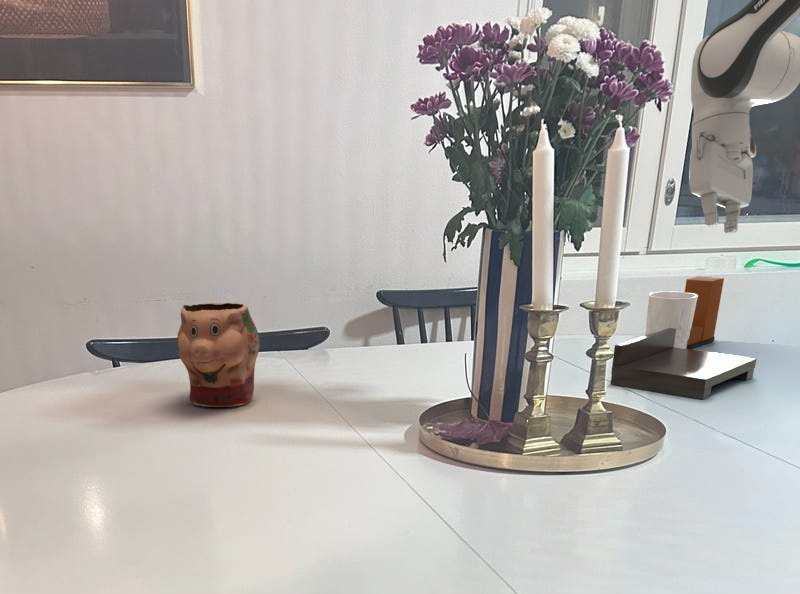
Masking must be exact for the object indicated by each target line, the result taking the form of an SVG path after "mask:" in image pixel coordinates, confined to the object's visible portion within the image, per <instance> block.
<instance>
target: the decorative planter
mask: <svg viewBox="0 0 800 594" xmlns="http://www.w3.org/2000/svg"><path fill="white" fill-rule="evenodd" d="M180 321H181V324H180V325H179V329H178V332H177V338H176V344H177V345H176V346H177V354H178V356H179V359H180V360H181V363H183V365H184V367H185V369H186V371H187V375H188V380H189V387H190V388H189V402H190V403H192V402H193V403H192V404H193V405H196V406H201V407H212V408H213V407H215V408H217V407H218V408H224V407H225V408H227V407H237V406H242V405H246V404H248V403H250V402H251V401H252V399H253V396H254V391H255V369H256V363H257V359H258V355H259V351H260V335H259V332H258V328H257V327H256V324H255V323H254V321H253V319H252V316H251V314H250V310H249V308H248V306H247V305H246V304H244V303H239V302H238V303H237V302H223V303H220V302H219V303H218V302H217V303H216V302H209V303H197V304H196V303H195V304H190V305H187V304H183V306H182V307H181V310H180Z"/></svg>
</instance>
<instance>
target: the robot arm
mask: <svg viewBox="0 0 800 594" xmlns="http://www.w3.org/2000/svg"><path fill="white" fill-rule="evenodd" d="M798 15H800V0H750V1H749V2H748V3H747V4H746V5H745V6H744V7H743V8H741V9H740V10H739V11H738V12H737V13H735V14H733V15H731V16H730V17H728V18H726V19H725V20H724V21H723V22H721V23H720V24H718V25H717V26H716V27H715V28H714V29H713V30H712V31H711V32H710V33H709V34H708V35H707V36H705V37H704V38H703V39H702V40H701V41H700V42H699V43H698V45H697V47H696V48H695V52H694V54H693V59H692V65H691V76H690V78H691V79H690V101H691V102H690V103H691V105H692V108H693V109H692V110H693V118H692V122H691V150H690V153H689V154H690V155H689V169H688V171H689V172H688V186H689V190H690V193H691V194H692V195H695V196H697V197H699V198H700V204H701V208H702V212H703V215H704V225H705V226H707V227H714V226H715V227H716V226H717V225H719V223H720V222H719V218H720V217H719V212H718V209H717V206H719V207H722V208H724V211H725V222H723V228H724V229H723V231H724V233H725V234H728V235H731V234H736V233H737V232H738V223H739V218H740V215H741V209H743V208H745V207H749V205H750V203H751V200H752V196H753V181H754V180H753V179H754V177H753V176H754V163H753V159H752V158H755V157H756V155H757V146H756V143H755V141H754V139H753V136H752V134H751V127H750V111H751V109H752V107H754V106H760V105H767V104H772V103H776V102H780V101H783V100H785V99H786V98H788V97H790V96H791V95H792V94H793V93H794V92H795V91H796V90H797V89H798V87H799V86H800V36H799V35H796V34H794V33H791V32H787V31H783V30H784V29H785V28H786V27H787V26H788V25H789V24H790V23H792V21H794V19H795V18H796V17H797V16H798Z"/></svg>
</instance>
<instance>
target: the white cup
mask: <svg viewBox="0 0 800 594" xmlns="http://www.w3.org/2000/svg"><path fill="white" fill-rule="evenodd" d="M697 298H698V295H696V294H693V293H687V292H685V291H655V292H650V293H649V294H648V300H647V301H648V302H647V303H648V304H647V310H646V311H647V312H646V322H645V334H644V336H646V335H649V334H652V333H655V332H658V331H661V330H665V329H668V328H675V329H676V335H675V341H674V347H675V348H682V349H686V347H687V341H688V339H689V335H690V330H691V327H692V322H693V317H694V312H695V307H696V303H697Z"/></svg>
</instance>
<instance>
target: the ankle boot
mask: <svg viewBox="0 0 800 594" xmlns="http://www.w3.org/2000/svg"><path fill="white" fill-rule="evenodd" d="M685 280H686V281H685V287H684V292H687V293H693V294H696V295H698V298H697V303H696V307H695V312H694V317H693V322H692V327H691V330H690V335H689V339H688V341H687V347H686V349H690V350H694V349H695V348H699V347H702V346H704V345H707V344H710V343H713V342H715V338H716V337H715V333H716V327H717V322H718V315H719V309H720V305H721V304H720V303H721V298H722V292H723V286H724V281H725V278H724V277H714V276H702V275H700V276H699V275H697V276H695V277H691V278H686V279H685Z"/></svg>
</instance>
